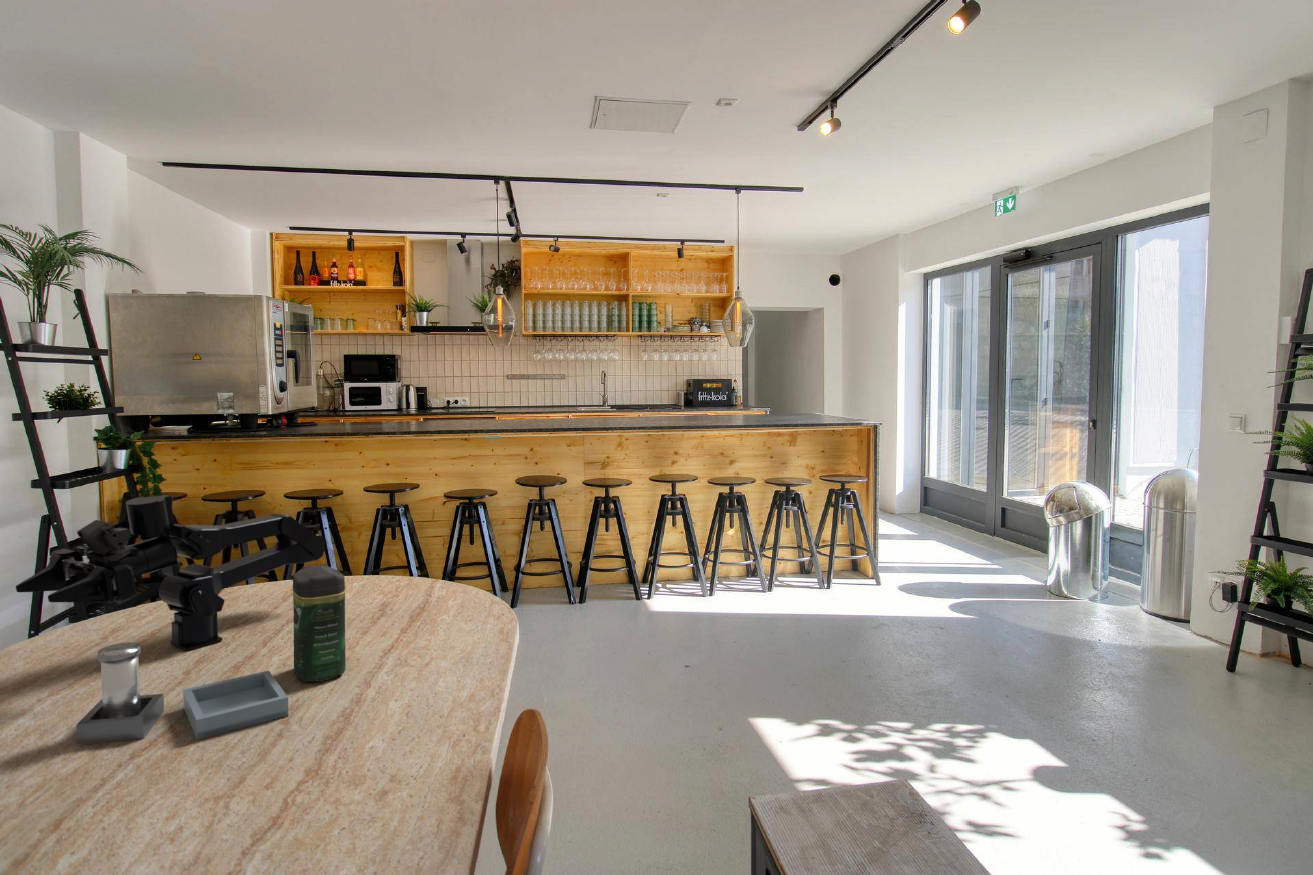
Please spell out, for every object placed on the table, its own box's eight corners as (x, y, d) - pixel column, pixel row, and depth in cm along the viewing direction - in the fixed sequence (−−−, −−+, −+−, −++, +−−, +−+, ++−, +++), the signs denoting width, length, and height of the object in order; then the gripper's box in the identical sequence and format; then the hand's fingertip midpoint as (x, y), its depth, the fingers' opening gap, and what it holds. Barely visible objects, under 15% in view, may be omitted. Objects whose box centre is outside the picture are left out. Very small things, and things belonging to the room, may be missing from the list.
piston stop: (134, 716, 111) (131, 639, 109) (150, 726, 108) (146, 647, 107) (95, 729, 106) (91, 650, 105) (110, 740, 104) (106, 658, 102)
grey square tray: (102, 717, 110) (101, 698, 110) (164, 712, 112) (163, 693, 112) (77, 744, 102) (76, 724, 102) (143, 738, 104) (143, 718, 104)
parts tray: (183, 708, 114) (183, 689, 113) (269, 687, 121) (268, 670, 121) (197, 740, 105) (196, 720, 104) (288, 715, 112) (288, 697, 112)
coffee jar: (351, 677, 126) (350, 572, 125) (301, 688, 122) (299, 579, 120) (337, 657, 134) (336, 558, 132) (289, 667, 129) (287, 565, 128)
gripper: (98, 509, 130) (-10, 537, 117) (163, 522, 123) (56, 553, 109) (109, 568, 133) (4, 602, 119) (173, 584, 125) (69, 623, 111)
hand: (32, 594), depth 114 cm, fingers open, 9 cm apart
